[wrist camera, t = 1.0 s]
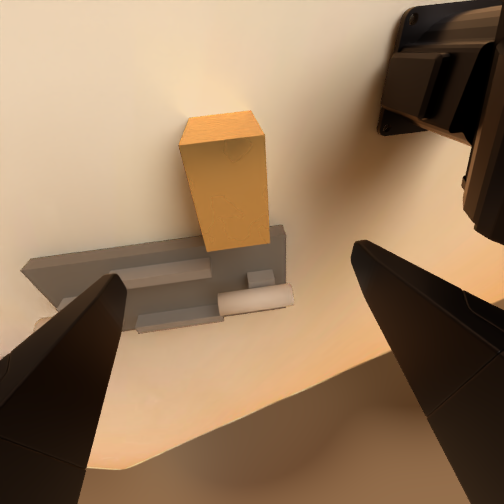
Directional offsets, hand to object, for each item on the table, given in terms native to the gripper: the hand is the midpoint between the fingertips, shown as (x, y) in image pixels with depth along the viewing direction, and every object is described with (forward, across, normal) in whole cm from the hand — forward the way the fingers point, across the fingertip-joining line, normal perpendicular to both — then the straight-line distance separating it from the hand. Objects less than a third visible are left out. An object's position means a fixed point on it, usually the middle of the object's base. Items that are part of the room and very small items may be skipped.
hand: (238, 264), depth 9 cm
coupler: (+11, 0, 0) cm, 11 cm away
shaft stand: (+11, +7, +11) cm, 17 cm away
